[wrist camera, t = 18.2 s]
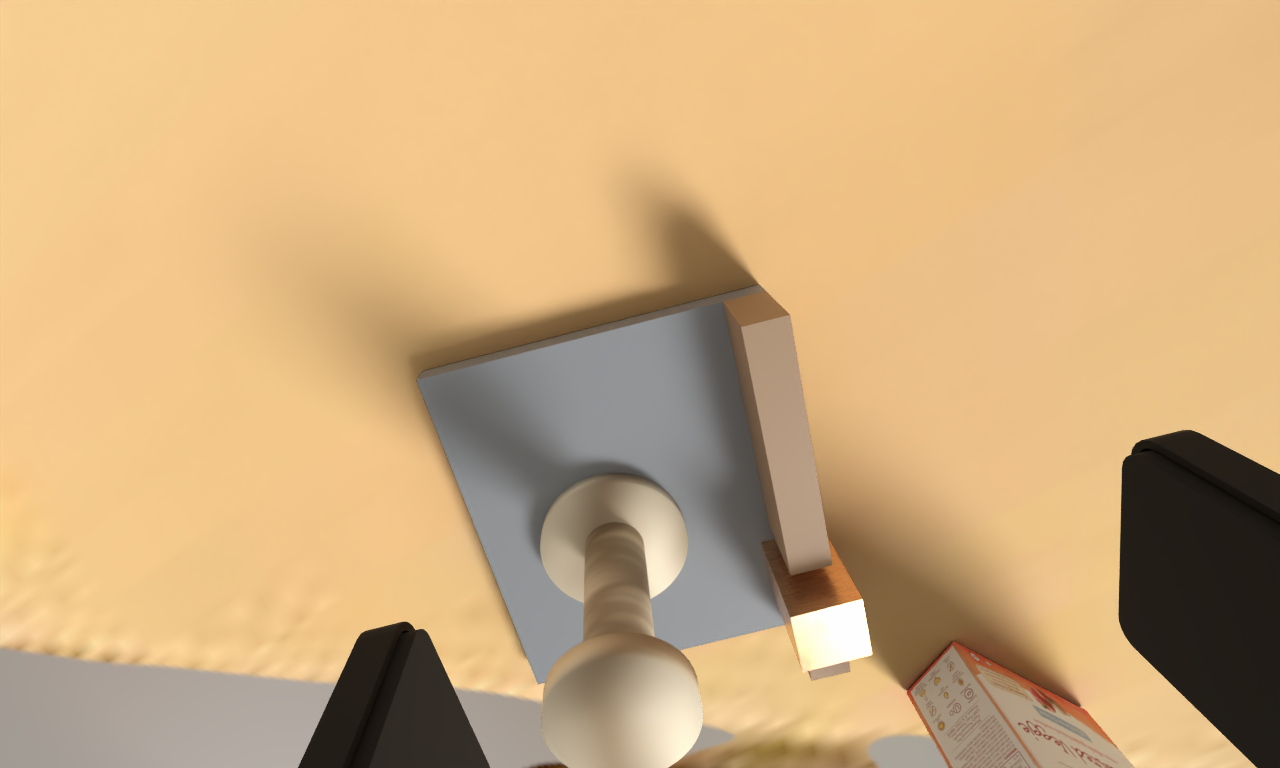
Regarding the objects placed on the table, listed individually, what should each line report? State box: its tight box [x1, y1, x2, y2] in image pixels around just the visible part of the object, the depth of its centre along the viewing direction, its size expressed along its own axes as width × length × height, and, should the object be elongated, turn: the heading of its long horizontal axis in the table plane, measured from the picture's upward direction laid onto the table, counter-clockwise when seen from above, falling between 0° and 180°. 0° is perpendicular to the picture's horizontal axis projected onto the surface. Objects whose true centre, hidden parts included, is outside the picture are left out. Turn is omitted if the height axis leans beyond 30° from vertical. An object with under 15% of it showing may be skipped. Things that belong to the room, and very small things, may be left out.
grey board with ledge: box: [416, 285, 850, 684], centre depth 40 cm, size 20×23×6 cm
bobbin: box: [540, 473, 703, 768], centre depth 36 cm, size 9×9×14 cm
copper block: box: [761, 538, 872, 672], centre depth 40 cm, size 4×4×7 cm
